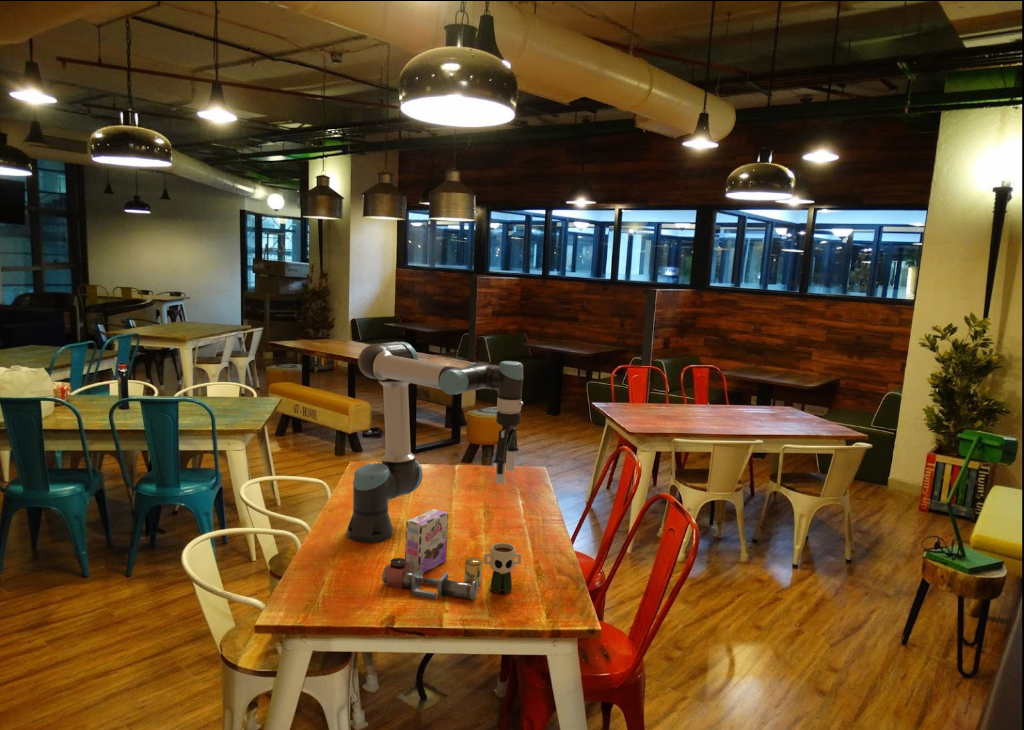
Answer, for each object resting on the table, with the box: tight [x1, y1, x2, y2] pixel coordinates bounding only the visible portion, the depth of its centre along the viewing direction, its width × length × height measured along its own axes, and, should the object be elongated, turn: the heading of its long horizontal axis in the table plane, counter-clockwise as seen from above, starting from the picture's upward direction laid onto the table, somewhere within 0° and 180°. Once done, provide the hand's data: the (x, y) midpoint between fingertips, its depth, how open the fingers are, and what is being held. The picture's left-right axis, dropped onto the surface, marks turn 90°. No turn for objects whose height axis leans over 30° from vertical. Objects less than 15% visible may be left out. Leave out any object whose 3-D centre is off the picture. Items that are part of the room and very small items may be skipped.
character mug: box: [483, 542, 522, 594], centre depth 202 cm, size 11×7×13 cm, turn 97°
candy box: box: [404, 508, 449, 575], centre depth 214 cm, size 14×6×16 cm, turn 148°
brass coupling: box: [463, 557, 483, 587], centre depth 206 cm, size 5×5×7 cm
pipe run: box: [381, 557, 479, 601], centre depth 200 cm, size 27×9×7 cm, turn 75°
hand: (505, 477), depth 220 cm, fingers open, 13 cm apart
